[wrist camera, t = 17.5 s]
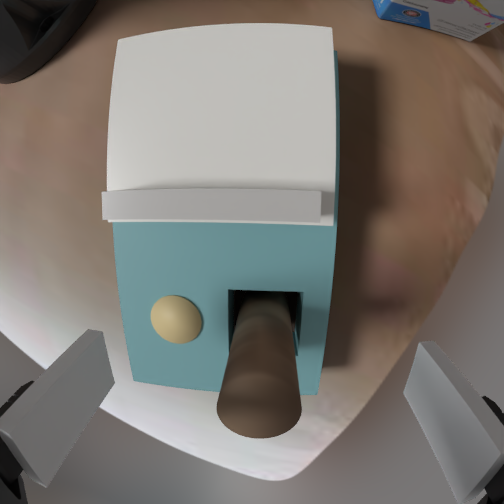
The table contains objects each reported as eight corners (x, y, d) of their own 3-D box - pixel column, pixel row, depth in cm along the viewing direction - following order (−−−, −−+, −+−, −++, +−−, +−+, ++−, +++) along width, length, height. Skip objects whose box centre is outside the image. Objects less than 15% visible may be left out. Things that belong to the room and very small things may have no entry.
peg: (242, 325, 20) (219, 436, 10) (240, 282, 19) (213, 377, 9) (287, 325, 20) (298, 438, 10) (289, 282, 19) (305, 379, 9)
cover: (125, 46, 13) (99, 24, 10) (328, 35, 12) (340, 6, 9) (116, 219, 15) (84, 228, 12) (329, 223, 15) (344, 234, 12)
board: (139, 74, 16) (118, 59, 13) (327, 69, 16) (337, 49, 13) (148, 358, 21) (133, 382, 18) (312, 368, 20) (317, 396, 17)
